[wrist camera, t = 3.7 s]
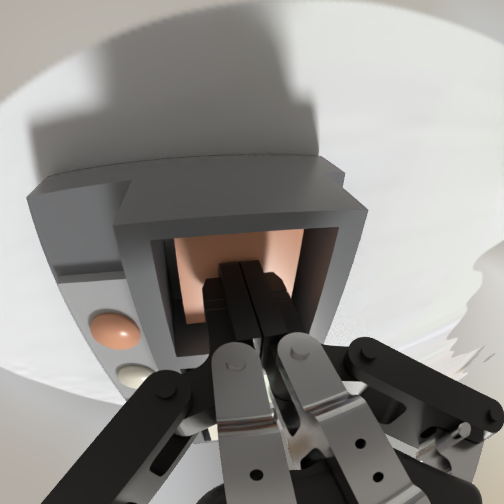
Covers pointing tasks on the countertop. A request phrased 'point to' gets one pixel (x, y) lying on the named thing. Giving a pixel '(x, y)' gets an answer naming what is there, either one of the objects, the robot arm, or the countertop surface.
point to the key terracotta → (233, 250)
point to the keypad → (164, 254)
